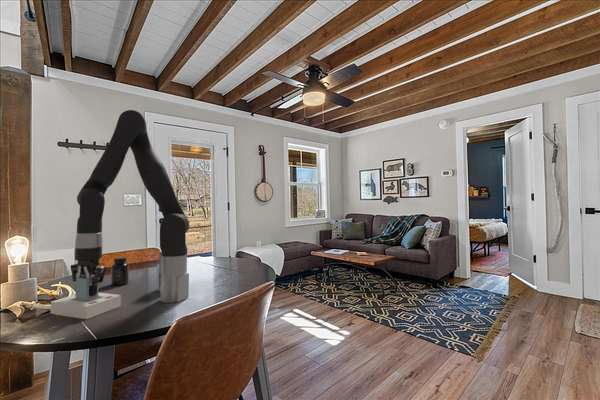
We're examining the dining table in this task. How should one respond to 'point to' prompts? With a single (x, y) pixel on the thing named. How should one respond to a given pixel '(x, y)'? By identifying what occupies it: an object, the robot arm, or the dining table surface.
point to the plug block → (84, 288)
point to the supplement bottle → (120, 272)
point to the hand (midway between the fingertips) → (87, 294)
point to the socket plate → (85, 305)
